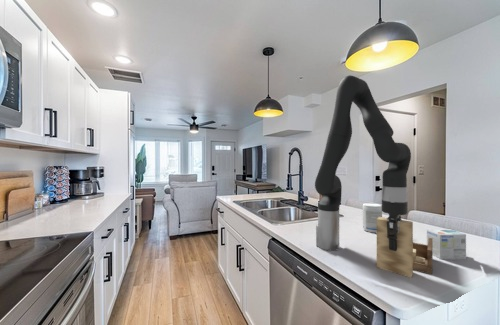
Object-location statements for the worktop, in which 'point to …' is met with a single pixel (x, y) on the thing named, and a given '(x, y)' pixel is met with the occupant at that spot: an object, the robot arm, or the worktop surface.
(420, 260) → the pine offcut bottom
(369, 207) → the supplement tub
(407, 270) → the oak board
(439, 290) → the worktop surface
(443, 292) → the worktop surface
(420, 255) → the rack
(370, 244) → the worktop surface
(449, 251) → the light bulb box
